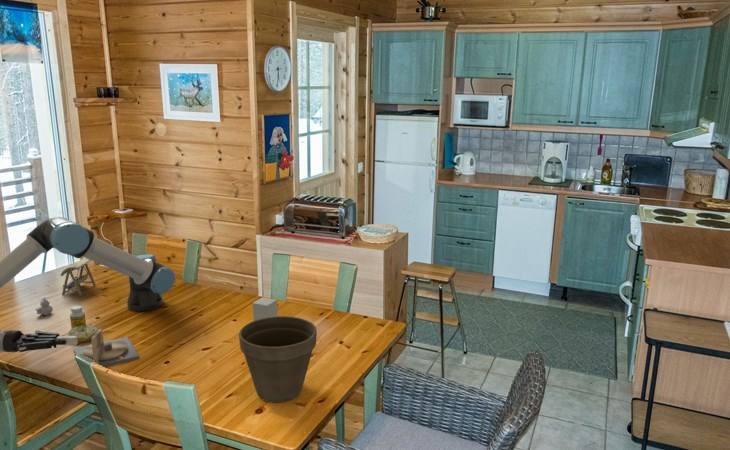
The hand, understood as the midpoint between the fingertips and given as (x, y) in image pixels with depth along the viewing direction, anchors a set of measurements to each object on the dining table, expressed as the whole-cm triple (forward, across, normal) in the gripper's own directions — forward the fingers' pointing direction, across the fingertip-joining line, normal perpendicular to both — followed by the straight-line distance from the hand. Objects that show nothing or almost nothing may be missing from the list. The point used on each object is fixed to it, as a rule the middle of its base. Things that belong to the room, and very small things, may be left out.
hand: (76, 340), depth 200 cm
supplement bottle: (-12, -29, -9) cm, 33 cm away
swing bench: (-30, -74, -9) cm, 81 cm away
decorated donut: (-7, -21, -9) cm, 25 cm away
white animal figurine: (-33, -45, -9) cm, 56 cm away
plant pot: (+73, +21, -9) cm, 76 cm away
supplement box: (+64, -27, -9) cm, 69 cm away
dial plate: (+7, -7, -9) cm, 13 cm away
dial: (+7, -6, -8) cm, 12 cm away
